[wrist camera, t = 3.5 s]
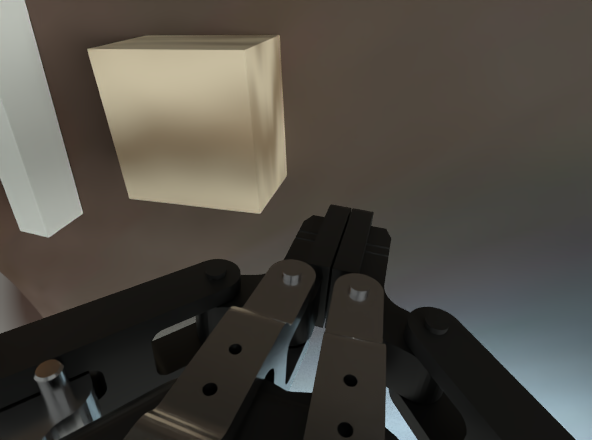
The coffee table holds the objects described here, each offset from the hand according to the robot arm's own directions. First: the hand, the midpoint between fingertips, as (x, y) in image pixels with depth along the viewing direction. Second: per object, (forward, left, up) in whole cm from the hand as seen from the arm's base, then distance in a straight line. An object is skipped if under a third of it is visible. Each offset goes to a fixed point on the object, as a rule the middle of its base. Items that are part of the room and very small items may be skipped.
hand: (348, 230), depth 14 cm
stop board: (0, -23, -10) cm, 25 cm away
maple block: (0, -9, -10) cm, 14 cm away
